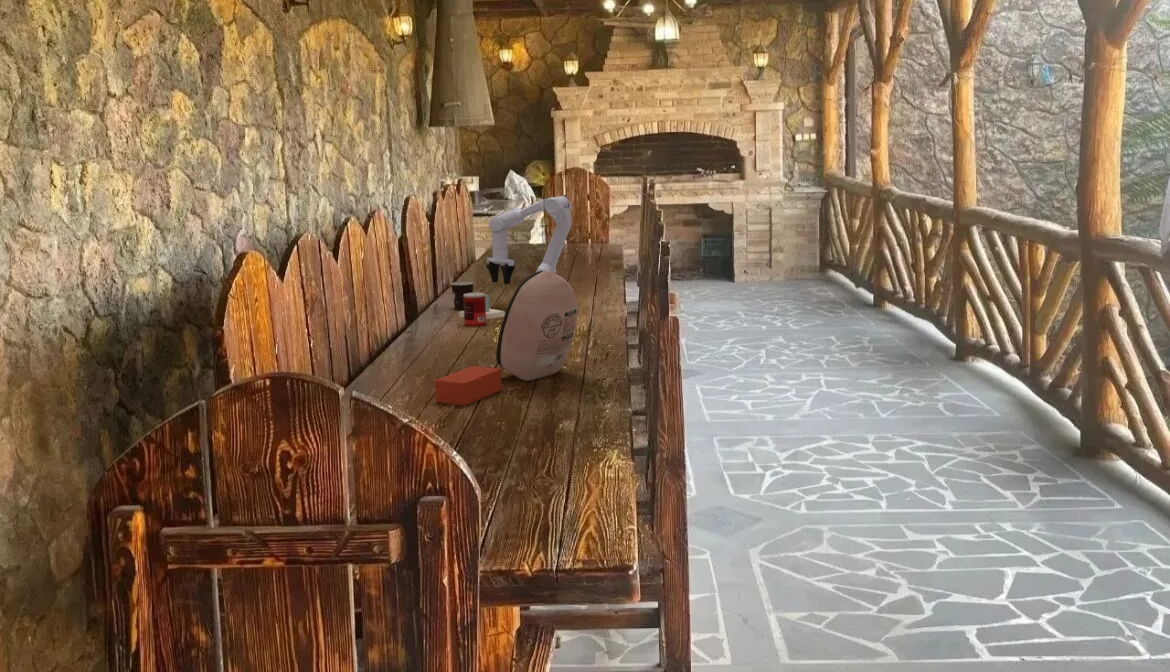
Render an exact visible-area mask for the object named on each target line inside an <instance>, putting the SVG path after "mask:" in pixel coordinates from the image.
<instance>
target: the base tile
mask: <svg viewBox="0 0 1170 672" xmlns="http://www.w3.org/2000/svg"><path fill="white" fill-rule="evenodd" d="M505 313H506V312H505V311H504V310H499V309H493V308H489V312H486V320H491V319H492V320H493V319H497V318H498V319H499V318H504V316H505ZM458 317H459V318H463V319H464V310H459V311H458Z"/></svg>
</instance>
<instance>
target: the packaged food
mask: <svg viewBox="0 0 1170 672" xmlns="http://www.w3.org/2000/svg"><path fill="white" fill-rule="evenodd" d="M578 310H579V309H578V301H577V296H576V294H575V290H574V288H573V287H572V286H571V284H570V283H569V282H568V281H567V280H566V279H565V278H564V277H562V276H561V275H559V274H557V273H556V274H555V273H553V272H550V271H538V272H536V271H535V272H533V273H532V274H530V275H528V276H527V277H526V278H525V279H524V280H523V281H522V282H521V283H520V284H519V285H518V287H517V288H516V290H515V291H514V293H513V295H512V296H511V299H510V301H509V303H508V305H507V307H506V310H505V312H504V313H505V316H504V317H503V320H502V323H501V327H500V328H499V329H500V330H499V335H498V338H497V345H496V353H495V360H496V363H497V364H498V366H499V367H501V368H502V369H503V370H505V371H507V372H508V373H510V374H512V375H513V376H515V377H517V378H518V379H521V380H522V381H524V382H525V381H526V382H528V381H533V380H537V379H542V378H544V377H548V376H552V375H554V374H557V373H558V372H559V371H560V370H561V369H562V368H564V365H565V364H566V362H567V360H568V358H569V355H570V351H571V348H572V345H573V343H574V338H575V334H576V329H577V325H578V314H579V313H578V312H579V311H578Z"/></svg>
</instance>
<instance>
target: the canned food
mask: <svg viewBox="0 0 1170 672" xmlns="http://www.w3.org/2000/svg"><path fill="white" fill-rule="evenodd" d="M485 295H486V294H485V293H484V292H473V293H467V294H464V296H463V300H464V310H463V311H464V318H463V320H464V326H466V327H469V326H477V327H482V326H483V325H484V326H485V325H487V324H486V323H487V319H486V302H485Z"/></svg>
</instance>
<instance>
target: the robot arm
mask: <svg viewBox="0 0 1170 672" xmlns="http://www.w3.org/2000/svg"><path fill="white" fill-rule="evenodd" d="M571 209H572V204H571V202H570V201H569V198H567V197H566V196H563V195H559V196H555V197H554V196H551V197H548V198H544V199H541V200H538V201H536V202H534V203H532V204H530V205H528V206H526V207H523V208H519V207H512V208H510V209H509V210H508V211H506V212H501V213H500V214H499V215H494V216H493V217H491V218H490V219H489V222H488V226H489V229H490V230H491V242H492V243H491V246H492V250H491V251H492V257H486V263H487V264H485V267H486V268H487V270H488V273H489V276H490V279H491V282H492V283H498V282H499V272H500V270H501V272H502V278H503V284H504V285H510V283H511V278H512V275H513V272H514V270H515V269H516V266H515V260H514V259H510V258H508V257H509V255H508V230H509V228H512V227H515V226H516V225H518V224H520V223H523V222H524V221H525V218H527V217H529V216H531V215H534V214H536V213H539V212H546V213H547V214H548V215H549V216H550V217H551V218H552V219H553V220H554V223H555V227H554V231H553V233H552V235H551V238H550V240H549V244H548V245H547V246H548V247H547V248H546V250H545V254H544V257H543V260H542V262H541V263H540V264H539V266H538V267H537V268H536V269H537V270H536V271H535V273H536V272H538V271H550V272H553V273H555V274H557V267H556V266H557V264H558V261H559V259H560V256H561V253H562V251H563V247H564V246H565V242H566V240H567V237H568V235H569V233H570V229H571V227H572V224H573V222H572V213H571V212H572V211H571Z"/></svg>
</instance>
